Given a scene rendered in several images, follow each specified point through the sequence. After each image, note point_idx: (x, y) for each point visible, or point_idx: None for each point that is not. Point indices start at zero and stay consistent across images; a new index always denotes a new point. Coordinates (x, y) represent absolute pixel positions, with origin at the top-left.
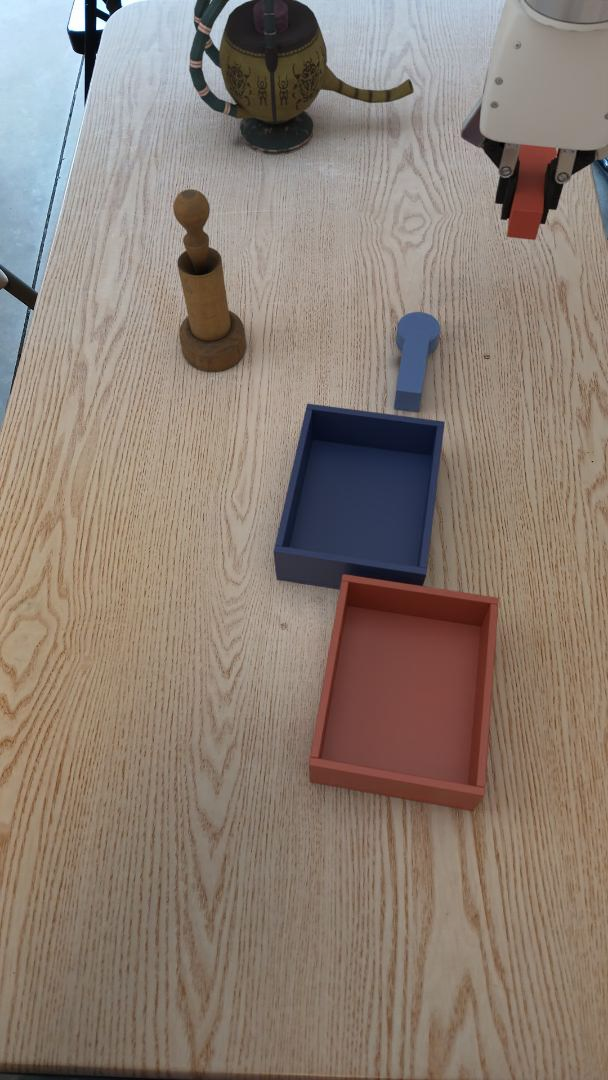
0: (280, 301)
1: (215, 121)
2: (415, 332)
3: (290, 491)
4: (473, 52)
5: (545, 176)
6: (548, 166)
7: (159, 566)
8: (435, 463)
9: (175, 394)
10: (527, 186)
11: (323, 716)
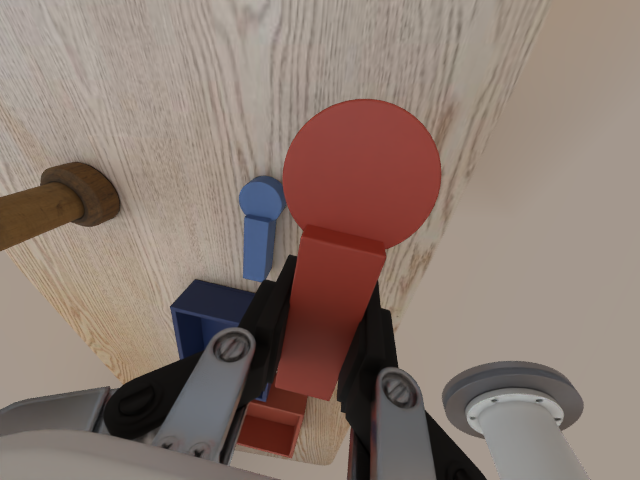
0: (123, 132)
1: None
2: (254, 220)
3: (181, 357)
4: None
5: (354, 339)
6: (354, 365)
7: (143, 338)
8: None
9: (89, 236)
10: (308, 348)
11: None
